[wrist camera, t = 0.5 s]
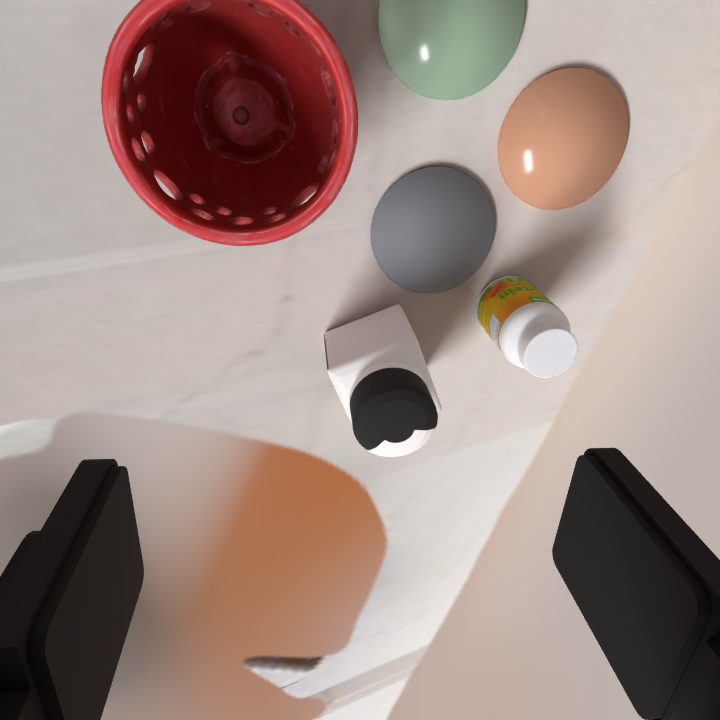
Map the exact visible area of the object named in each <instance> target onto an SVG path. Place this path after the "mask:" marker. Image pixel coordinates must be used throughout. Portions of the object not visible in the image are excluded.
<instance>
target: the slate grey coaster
mask: <svg viewBox="0 0 720 720" xmlns="http://www.w3.org/2000/svg"><path fill="white" fill-rule="evenodd" d="M494 232H495V218H494V212H493V207H492V205H491V202H490V199H489V197H488V196H487V194H486V192H485V191H484V189H483V188H482V187H481V186H480V185H479V184H478V183H477V182H476V181H475V180H474V179H473V178H471V177H470V176H468V175H466V174H465V173H463V172H461V171H458V170H455V169H452V168H448V167H437V166H436V167H427V168H422V169H418V170H416V171H413V172H411V173H409V174H407V175H405V176H403V177H402V178H400V179H399V180H397V181H396V182H395V183H394V184H393V185H392V186H391V187H390V188H389V189H388V190H387V191H386V192H385V194H384V195H383V197H382V198H381V200H380V201H379V203H378V205H377V207H376V210H375V212H374V215H373V219H372V224H371V244H372V249H373V252H374V255H375V258H376V260H377V262H378V264H379V266H380V267H381V269H382V270H383V272H384V273H385V274H386V275H387V276H388V277H389V278H390V279H391V280H392V281H394V282H395V283H396V284H398V285H400V286H402V287H404V288H406V289H409V290H412V291H416V292H423V293H432V292H439V291H444V290H447V289H450V288H453V287H455V286H457V285H459V284H460V283H462V282H464V281H465V280H466V279H468V278H469V277H470V276H471V275H473V274H474V272H475V271H476V270H477V269H478V268H479V267H480V266H481V264H482V263H483V262H484V260H485V258H486V257H487V255H488V252H489V250H490V248H491V245H492V242H493V237H494Z"/></svg>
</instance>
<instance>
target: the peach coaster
mask: <svg viewBox="0 0 720 720" xmlns="http://www.w3.org/2000/svg"><path fill="white" fill-rule="evenodd" d="M627 137H628V114H627V109H626V105H625V102H624V100H623V97H622V96H621V94H620V92H619V90H618V89H617V88H616V86H615V85H614V84H613V83H612V82H611V81H610V80H609V79H608V78H606V77H605V76H603V75H602V74H600V73H598V72H596V71H593V70H590V69H586V68H564V69H560V70H556V71H553V72H550V73H547V74H546V75H544V76H542V77H540V78H538V79H537V80H535V81H534V82H532V83H531V84H530V85H529V86H528V87H527V88H525V89H524V90H523V91H522V92H521V94H520V95H519V96H518V97H517V98H516V100H515V101H514V102H513V104H512V105H511V107H510V109H509V110H508V112H507V114H506V116H505V119H504V121H503V123H502V127H501V130H500V134H499V140H498V162H499V167H500V171H501V174H502V177H503V179H504V181H505V183H506V185H507V186H508V187H509V189H510V190H511V191H512V192H513V193H514V195H515V196H517V197H518V198H519V199H520V200H522V201H524V202H525V203H527V204H529V205H531V206H534V207H537V208H541V209H547V210H557V209H564V208H568V207H571V206H574V205H577V204H579V203H581V202H583V201H585V200H586V199H588V198H590V197H591V196H592V195H594V194H595V193H596V192H597V191H599V190H600V189H601V188H602V187H603V186H604V185H605V184H606V182H607V181H608V180H609V179H610V177H611V176H612V175H613V173H614V172H615V170H616V168H617V167H618V165H619V163H620V161H621V158H622V156H623V153H624V150H625V147H626V143H627Z"/></svg>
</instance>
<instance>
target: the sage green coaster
mask: <svg viewBox="0 0 720 720" xmlns="http://www.w3.org/2000/svg"><path fill="white" fill-rule="evenodd" d="M524 13H525V0H380V1H379V7H378V31H379V38H380V42H381V46H382V50H383V53H384V55H385V57H386V60H387V62H388V64H389V65H390V67H391V69H392V70H393V72H394V73H395V75H396V76H397V77H398V78H399V79H400V80H401V81H402V82H403V83H404V84H405V85H406V86H407V87H408V88H410V89H411V90H413V91H414V92H416V93H418V94H420V95H422V96H425V97H428V98H432V99H436V100H456V99H461V98H465V97H468V96H470V95H473V94H475V93H477V92H479V91H481V90H482V89H484V88H485V87H486V86H488V85H489V84H490V83H492V82H493V81H494V80H495V79H496V78H497V77H498V76H499V75H500V73H501V72H502V71H503V70H504V69H505V67H506V66H507V64H508V63H509V61H510V60H511V58H512V56H513V54H514V52H515V50H516V47H517V45H518V42H519V39H520V36H521V33H522V28H523V22H524Z"/></svg>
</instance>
